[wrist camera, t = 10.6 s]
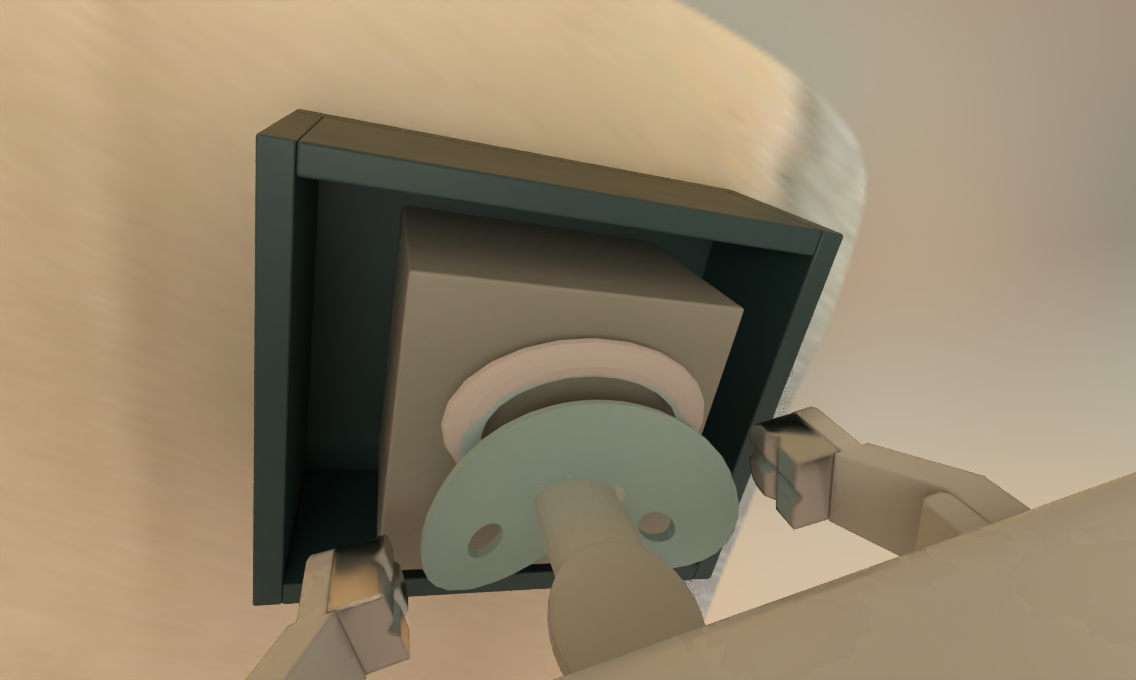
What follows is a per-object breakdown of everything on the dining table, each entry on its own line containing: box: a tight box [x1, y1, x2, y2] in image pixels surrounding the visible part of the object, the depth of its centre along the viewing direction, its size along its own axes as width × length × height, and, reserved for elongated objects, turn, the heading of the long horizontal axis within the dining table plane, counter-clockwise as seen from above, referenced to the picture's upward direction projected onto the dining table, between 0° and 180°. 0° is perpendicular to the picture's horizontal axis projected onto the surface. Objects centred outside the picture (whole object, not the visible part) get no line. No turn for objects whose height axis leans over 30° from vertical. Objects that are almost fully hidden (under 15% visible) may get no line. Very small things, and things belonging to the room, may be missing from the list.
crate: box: [253, 109, 843, 606], centre depth 18 cm, size 14×12×6 cm
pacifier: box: [421, 338, 739, 676], centre depth 12 cm, size 7×6×6 cm
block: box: [377, 206, 743, 570], centre depth 17 cm, size 8×8×6 cm
